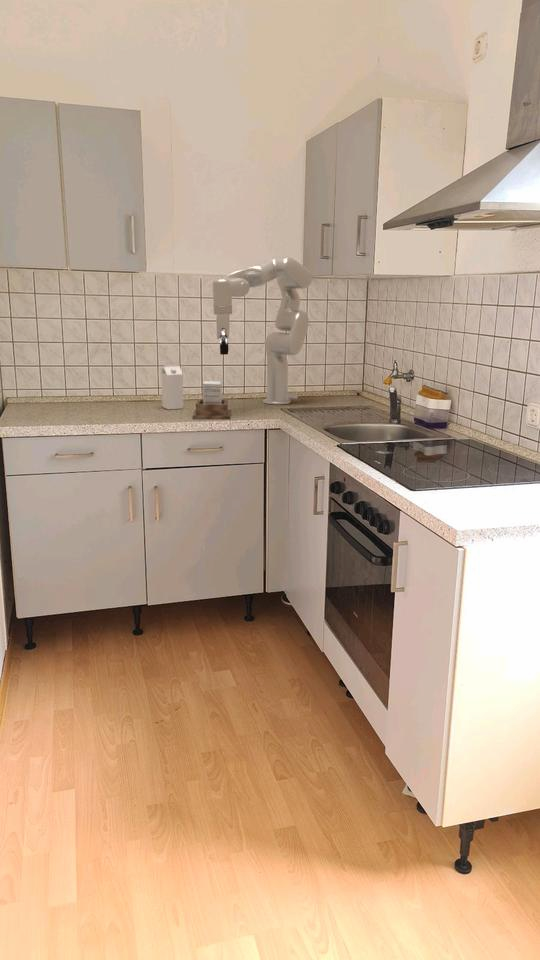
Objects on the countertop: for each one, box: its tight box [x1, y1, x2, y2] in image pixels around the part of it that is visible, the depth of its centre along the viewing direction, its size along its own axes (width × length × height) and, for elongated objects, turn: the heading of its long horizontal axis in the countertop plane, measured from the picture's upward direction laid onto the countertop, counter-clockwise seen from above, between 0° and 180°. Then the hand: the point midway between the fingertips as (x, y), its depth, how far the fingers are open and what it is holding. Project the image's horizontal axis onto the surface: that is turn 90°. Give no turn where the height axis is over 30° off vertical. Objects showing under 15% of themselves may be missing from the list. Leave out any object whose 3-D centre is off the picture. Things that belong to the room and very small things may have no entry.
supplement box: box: [202, 380, 223, 404], centre depth 287 cm, size 7×7×13 cm
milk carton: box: [160, 363, 184, 410], centre depth 303 cm, size 7×7×19 cm
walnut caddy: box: [191, 399, 232, 420], centre depth 288 cm, size 15×15×6 cm
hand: (224, 352), depth 292 cm, fingers open, 9 cm apart
